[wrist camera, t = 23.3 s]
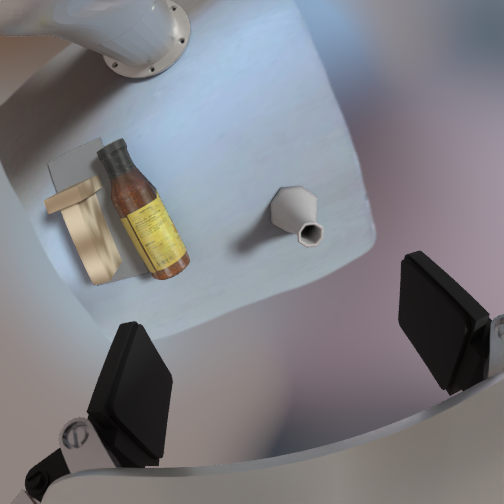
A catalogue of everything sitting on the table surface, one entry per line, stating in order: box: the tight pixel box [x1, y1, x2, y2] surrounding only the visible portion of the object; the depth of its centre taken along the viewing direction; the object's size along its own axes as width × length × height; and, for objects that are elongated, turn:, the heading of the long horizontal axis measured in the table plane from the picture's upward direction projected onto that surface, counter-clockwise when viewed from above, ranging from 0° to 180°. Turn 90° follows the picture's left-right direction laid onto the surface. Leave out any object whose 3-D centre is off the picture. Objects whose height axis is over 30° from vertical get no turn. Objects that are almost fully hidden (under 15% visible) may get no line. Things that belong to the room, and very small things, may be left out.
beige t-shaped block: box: [44, 175, 122, 285], centre depth 38 cm, size 14×6×7 cm, turn 13°
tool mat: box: [48, 138, 149, 286], centre depth 41 cm, size 22×10×1 cm, turn 13°
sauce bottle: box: [97, 138, 190, 280], centre depth 38 cm, size 6×6×20 cm
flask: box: [270, 186, 324, 247], centre depth 39 cm, size 7×7×10 cm
